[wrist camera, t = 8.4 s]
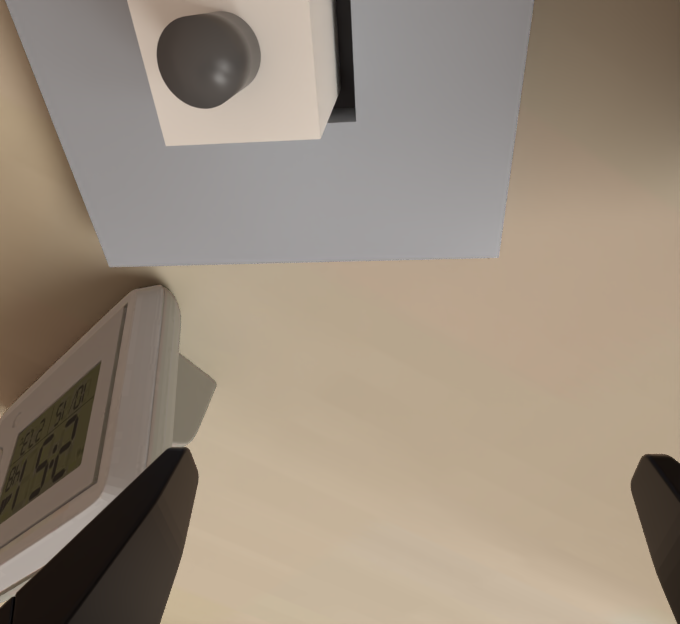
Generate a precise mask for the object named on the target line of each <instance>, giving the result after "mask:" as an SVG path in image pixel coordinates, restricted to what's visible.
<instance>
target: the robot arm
mask: <svg viewBox="0 0 680 624" xmlns="http://www.w3.org/2000/svg"><path fill="white" fill-rule="evenodd" d="M197 485H198V470H197V467H196V465H195V462H194V459H193V457H192V454H191V452H190V450H189V449H188V448H186V447H170V448H168V449H166V450H165V451H164V452H163V453H162V454H161V455H160V456H159V457H158V458H156V459H155V460H154V461H153V462H152V463H151V464H150V465H149V466H148V467H147V468H146V469H145V470H144V471H143V472H142V473H141V474H140V475H139V476H138V477H137V478H136V479H135V480H133V481H132V482H131V483H130V484H129V485H128V486H127V487H126V488H125V489H124V490H123V491H122V492H121V493H120V494H119V495H118V496H117V497H116V498H115V499H114V500H113V501H111V502H110V503H109V504H108V505H107V506H106V507H105V508H104V509H103V510H102V511H101V512H100V513H99V514H98V515H97V516H96V517H95V518H94V519H93V520H92V521H91V522H89V523H88V524H87V525H86V526H85V527H84V528H83V529H82V530H81V531H80V532H79V533H78V534H77V535H76V536H75V537H74V538H73V539H72V540H71V541H70V542H69V543H68V544H66V545H65V546H64V547H63V548H62V549H61V550H60V551H59V552H58V553H57V554H56V555H55V556H54V557H53V558H52V559H51V560H50V561H49V562H48V563H47V564H46V565H44V566H43V567H42V568H41V569H40V570H39V571H38V572H37V573H36V574H35V575H34V576H33V577H32V578H31V579H30V580H29V581H28V582H27V583H26V584H25V585H24V586H22V587H21V588H20V589H19V590H18V591H17V592H16V594H15V596H13V597H11V598H10V599H9V600H8V601H7V602H6V603H4V604H3V605H2V606H1V607H0V624H160V622H161V619H162V616H163V613H164V609H165V606H166V603H167V600H168V597H169V594H170V591H171V588H172V585H173V582H174V579H175V576H176V573H177V570H178V567H179V564H180V560H181V557H182V553H183V549H184V545H185V541H186V536H187V531H188V527H189V522H190V518H191V513H192V508H193V504H194V499H195V494H196V490H197ZM631 492H632V495H633V499H634V502H635V505H636V509H637V512H638V515H639V519H640V522H641V525H642V528H643V532H644V535H645V538H646V542H647V545H648V548H649V552H650V555H651V558H652V561H653V564H654V567H655V570H656V573H657V576H658V578H659V581H660V583H661V586H662V588H663V591H664V593H665V595H666V598H667V600H668V602H669V605H670V607H671V610H672V612H673V614H674V617H675V619H676V621H677V624H680V463H679V462H677V461H676V460H675V459H674V458H672V457H670V456H668V455H665V454H645V455H644V456H642V458H641V459H640V462H639V464H638V466H637V468H636V470H635V473H634V475H633V477H632V480H631Z"/></svg>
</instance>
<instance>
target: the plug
mask: <svg viewBox="0 0 680 624" xmlns="http://www.w3.org/2000/svg"><path fill="white" fill-rule="evenodd" d="M127 2H128V6H129V10H130V13H131V17H132V21H133V25H134V29H135V32H136V36H137V40H138V44H139V47H140V51H141V55H142V59H143V62H144V66H145V70H146V74H147V77H148V81H149V85H150V89H151V93H152V96H153V100H154V104H155V108H156V111H157V115H158V119H159V123H160V126H161V130H162V134H163V138H164V141H165V145H166V146H181V145H203V144H225V143H247V142H269V141H290V140H312V139H321V137H322V134H323V132H324V129H325V127H326V124H327V122H328V119H329V117H330V115H331V112H332V110H333V107H334V105H335V102H336V100H337V97H338V95H339V92H340V90H341V82H340V65H339V47H338V29H337V12H336V0H127Z"/></svg>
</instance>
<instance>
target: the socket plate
mask: <svg viewBox="0 0 680 624" xmlns="http://www.w3.org/2000/svg"><path fill="white" fill-rule="evenodd" d="M5 2H6V4H7V7H8V9H9V12H10V14H11V17H12V19H13V22H14V25H15V27H16V30H17V32H18V35H19V37H20V40H21V42H22V45H23V48H24V50H25V53H26V55H27V58H28V60H29V63H30V66H31V68H32V71H33V73H34V76H35V78H36V81H37V83H38V86H39V89H40V91H41V94H42V96H43V99H44V101H45V104H46V106H47V109H48V112H49V114H50V117H51V119H52V122H53V124H54V127H55V129H56V132H57V135H58V137H59V140H60V142H61V145H62V147H63V150H64V152H65V155H66V158H67V160H68V163H69V165H70V168H71V170H72V173H73V175H74V178H75V181H76V183H77V186H78V188H79V191H80V193H81V196H82V198H83V201H84V204H85V206H86V209H87V211H88V214H89V216H90V219H91V221H92V224H93V227H94V229H95V232H96V234H97V237H98V239H99V242H100V244H101V247H102V250H103V252H104V255H105V257H106V260H107V262H108V265H109V267H136V266H177V265H218V264H259V263H300V262H341V261H382V260H423V259H464V258H499V252H500V245H501V237H502V230H503V223H504V216H505V208H506V201H507V194H508V187H509V179H510V172H511V165H512V158H513V150H514V143H515V136H516V129H517V121H518V114H519V107H520V100H521V92H522V85H523V78H524V71H525V63H526V56H527V49H528V42H529V35H530V27H531V20H532V13H533V6H534V0H336V12H337V29H338V47H339V65H340V82H341V90H340V92H339V95H338V97H337V100H336V102H335V105H334V107H333V110H332V112H331V115H330V117H329V119H328V122H327V124H326V127H325V129H324V132H323V134H322V137H321V139H312V140H290V141H269V142H247V143H225V144H203V145H181V146H166V145H165V141H164V138H163V134H162V130H161V126H160V123H159V119H158V115H157V111H156V108H155V104H154V100H153V96H152V93H151V89H150V85H149V81H148V77H147V74H146V70H145V66H144V62H143V59H142V55H141V51H140V47H139V44H138V40H137V36H136V32H135V29H134V25H133V21H132V17H131V13H130V10H129V6H128V2H127V0H5Z"/></svg>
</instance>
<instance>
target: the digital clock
mask: <svg viewBox="0 0 680 624" xmlns="http://www.w3.org/2000/svg"><path fill="white" fill-rule="evenodd" d="M180 329H181V313H180V309H179V305H178V303H177V300H176V298H175V296H174V295H173V294H172V293H171V292H170V291H169V290H168V289H167V288H165V287H164V286H162V285H155V286H150V287H144V288H139V289H134V290H132V291H131V292H130V293H128V294H127V295H126V296H125V297H124V298H123V299H122V300H121V301H120V302H118V303H117V304H116V305H115V306H114V307H113V308H112V309H111V310H110V311H109V312H108V313H107V314H106V315H105V316H104V317H103V318H101V319H100V320H99V321H98V322H97V323H96V324H95V325H94V326H93V327H92V328H91V329H90V330H89V331H88V332H87V333H86V334H85V335H84V336H83V337H82V338H81V339H80V340H79V341H77V342H76V343H75V344H74V345H73V346H72V347H71V348H70V349H69V350H68V351H67V352H66V353H65V354H64V355H63V356H62V357H61V358H60V359H59V360H58V361H57V362H56V363H55V364H54V365H52V366H51V367H50V368H49V369H48V370H47V371H46V372H45V373H44V374H43V375H42V376H41V377H40V378H39V379H38V380H37V381H36V382H35V383H34V384H33V385H32V386H31V387H30V388H28V389H27V390H26V391H25V392H24V393H23V394H22V395H21V396H20V397H19V398H18V399H17V400H16V401H15V402H14V403H13V404H12V405H11V406H10V407H9V408H8V409H7V410H6V411H5V413H4V414H3V416H2V417H1V419H0V603H1V602H4V601H7V600H8V599H10V598H11V597H13V596H15V594H16V592H17V591H18V590H19V589H20V588H21V587H22V586H24V585H25V584H26V583H27V582H28V581H29V580H30V579H31V578H32V577H33V576H34V575H35V574H36V573H37V572H38V571H39V570H40V569H41V568H42V567H43V566H44V565H46V564H47V563H48V562H49V561H50V560H51V559H52V558H53V557H54V556H55V555H56V554H57V553H58V552H59V551H60V550H61V549H62V548H63V547H64V546H65V545H66V544H68V543H69V542H70V541H71V540H72V539H73V538H74V537H75V536H76V535H77V534H78V533H79V532H80V531H81V530H82V529H83V528H84V527H85V526H86V525H87V524H88V523H89V522H91V521H92V520H93V519H94V518H95V517H96V516H97V515H98V514H99V513H100V512H101V511H102V510H103V509H104V508H105V507H106V506H107V505H108V504H109V503H110V502H111V501H113V500H114V499H115V498H116V497H117V496H118V495H119V494H120V493H121V492H122V491H123V490H124V489H125V488H126V487H127V486H128V485H129V484H130V483H131V482H132V481H133V480H135V479H136V478H137V477H138V476H139V475H140V474H141V473H142V472H143V471H144V470H145V469H146V468H147V467H148V466H149V465H150V464H151V463H152V462H153V461H154V460H155V459H156V458H158V457H159V456H160V455H161V454H162V453H163V452H164V451H165V450H166V449H168V448H170V447H184V446H186V445H187V444H189V443H190V442H191V441H192V440H193V438H194V437H195V435H196V433H197V432H198V429H199V427H200V425H201V422H202V420H203V417H204V415H205V413H206V410H207V408H208V405H209V403H210V400H211V398H212V396H213V393H214V391H215V388H216V382H215V381H214V380H213V379H212V378H211V377H210V376H208V375H207V374H206V373H204V372H203V371H202V370H201V369H199V368H198V367H197V366H195V365H194V364H193V363H191V362H190V361H189V360H188V359H186V358H185V357H184V356H182V355H181V354H180V353H179V343H180Z"/></svg>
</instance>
